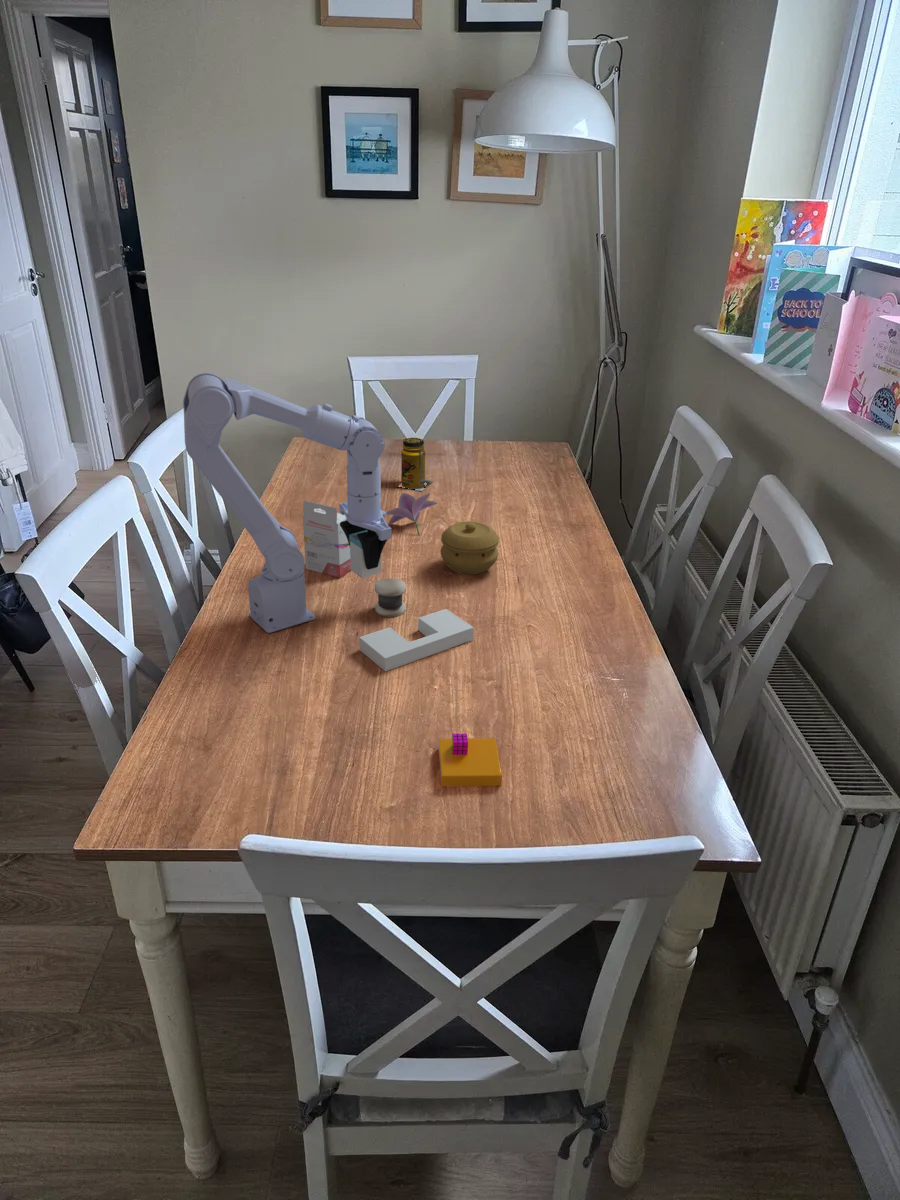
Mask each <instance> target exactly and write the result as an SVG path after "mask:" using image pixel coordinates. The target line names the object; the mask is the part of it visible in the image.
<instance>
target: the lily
mask: <svg viewBox="0 0 900 1200" xmlns="http://www.w3.org/2000/svg"><path fill="white" fill-rule="evenodd" d="M430 495H431V493H430V492H429V493H426V494H424V495H422V496H420V497H418V498H417V499H416V498H415V497H414V496H413V495H411V494H410V493H405V492H402V493H401V494H400V496H399V498H398V503H397V504H398V505H397V506H398V507H395V508H393V509H390V510H388V511H385V512H386V515H391V518H390V519H389V521H388V523H387V525H388V526H390V525H393V524H395V523H396V522H399V521H400V520H402V519H405V518H406V519H408V520H410V521H412V522H414V525H415V528H416V531H417V535H418V536H420V534H421V533H420V530H419V528H418V525H417V522H418V520H419V517H420V512H421V511H423V510H426V509H427V508H431V507H433V506H436V505H437V504H438V503H437V501H434V500H428V498H429V497H430Z"/></svg>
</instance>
